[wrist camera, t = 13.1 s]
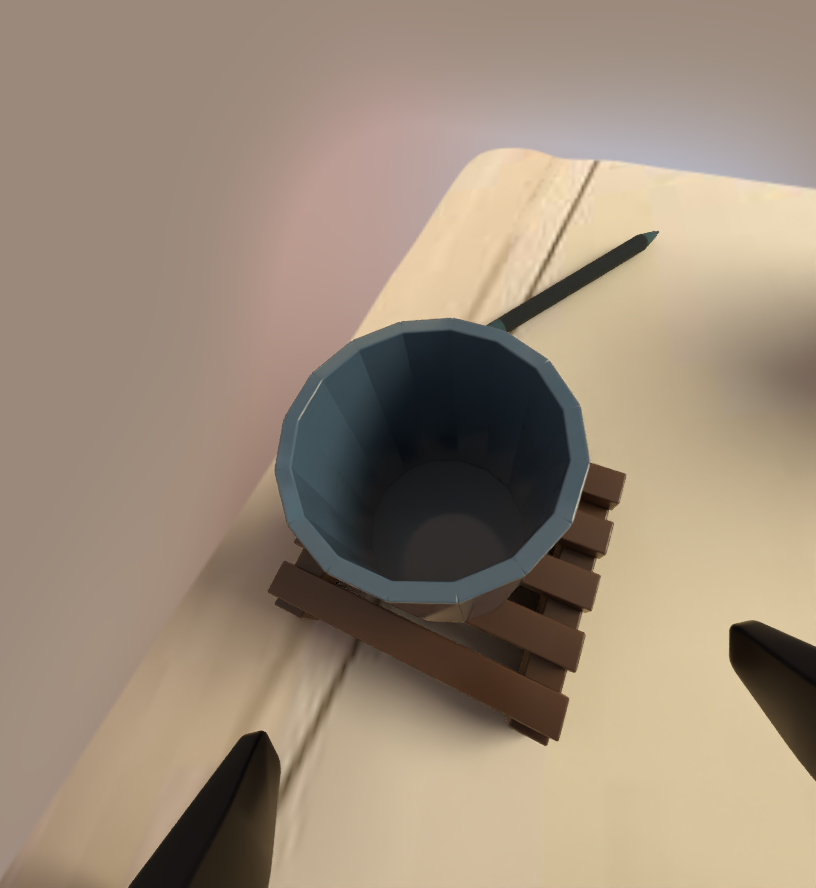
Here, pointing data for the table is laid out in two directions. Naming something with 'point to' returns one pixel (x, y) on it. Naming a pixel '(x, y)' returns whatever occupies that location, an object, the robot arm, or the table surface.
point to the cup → (433, 465)
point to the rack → (486, 620)
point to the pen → (573, 282)
